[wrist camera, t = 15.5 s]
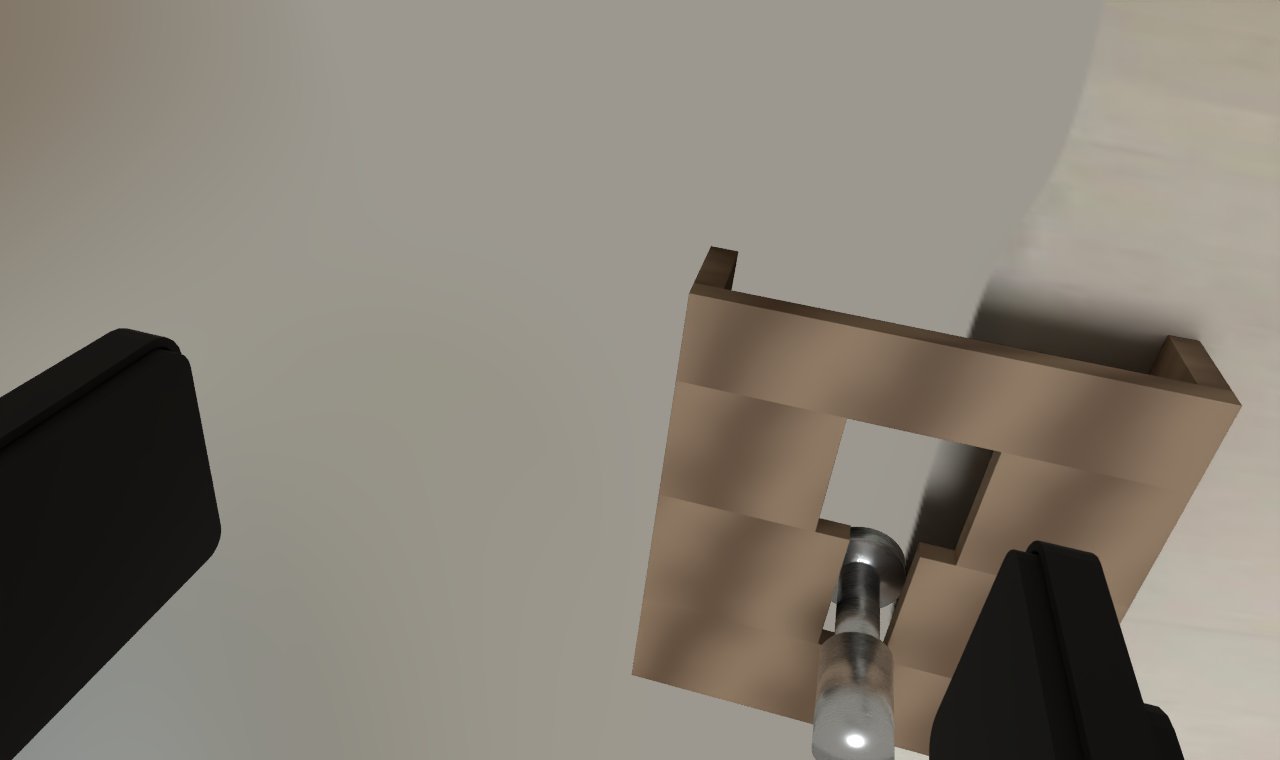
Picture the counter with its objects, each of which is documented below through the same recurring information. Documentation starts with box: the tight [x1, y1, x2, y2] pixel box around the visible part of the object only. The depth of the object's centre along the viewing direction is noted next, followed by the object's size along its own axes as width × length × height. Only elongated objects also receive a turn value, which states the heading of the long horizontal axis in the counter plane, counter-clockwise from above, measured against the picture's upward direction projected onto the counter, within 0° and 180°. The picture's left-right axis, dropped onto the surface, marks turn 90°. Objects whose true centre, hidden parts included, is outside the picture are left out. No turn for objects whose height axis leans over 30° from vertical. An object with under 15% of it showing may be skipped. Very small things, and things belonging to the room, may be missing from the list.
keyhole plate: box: [632, 246, 1242, 756], centre depth 40 cm, size 20×22×5 cm
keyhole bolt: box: [812, 527, 906, 760], centre depth 40 cm, size 4×4×12 cm
